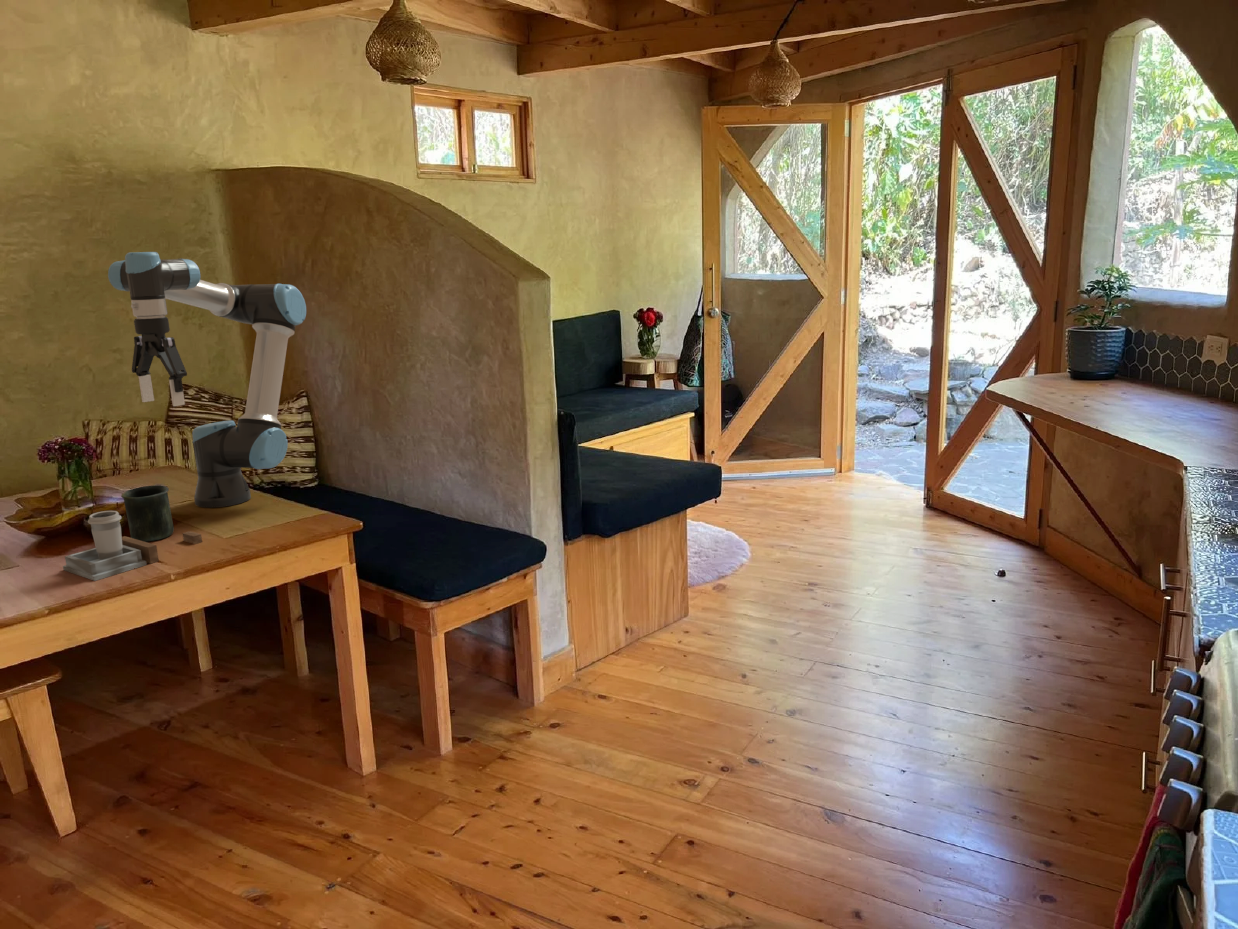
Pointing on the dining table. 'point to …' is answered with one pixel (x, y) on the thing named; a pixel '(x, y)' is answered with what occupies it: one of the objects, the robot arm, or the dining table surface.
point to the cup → (106, 533)
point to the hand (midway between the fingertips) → (163, 403)
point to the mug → (148, 512)
